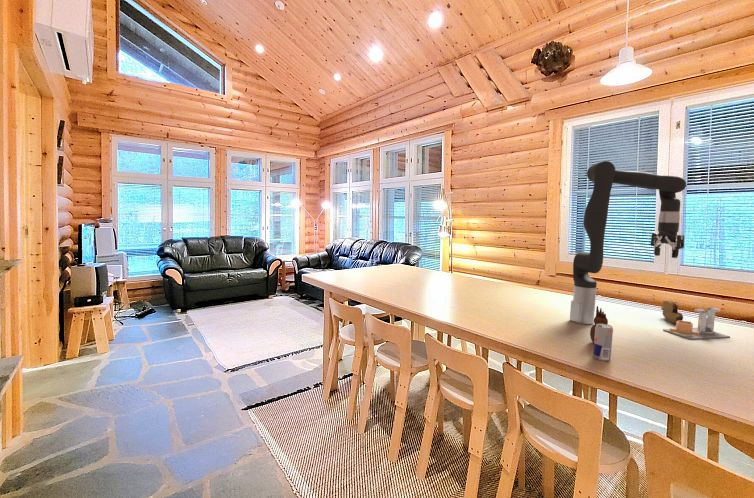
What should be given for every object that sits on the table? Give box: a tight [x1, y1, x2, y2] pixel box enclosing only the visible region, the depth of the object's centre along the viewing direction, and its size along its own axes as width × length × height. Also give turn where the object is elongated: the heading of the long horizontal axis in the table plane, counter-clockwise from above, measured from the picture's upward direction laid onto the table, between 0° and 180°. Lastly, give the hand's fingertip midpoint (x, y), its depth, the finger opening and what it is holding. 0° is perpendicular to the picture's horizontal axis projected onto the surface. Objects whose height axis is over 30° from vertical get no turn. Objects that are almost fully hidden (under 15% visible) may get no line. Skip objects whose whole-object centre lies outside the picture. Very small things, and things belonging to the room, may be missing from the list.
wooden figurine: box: [589, 305, 609, 344], centre depth 145 cm, size 7×6×15 cm
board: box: [662, 327, 731, 341], centre depth 160 cm, size 20×12×1 cm, turn 99°
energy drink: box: [592, 324, 614, 362], centre depth 131 cm, size 5×5×12 cm
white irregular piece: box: [694, 307, 722, 334], centre depth 160 cm, size 11×5×10 cm, turn 99°
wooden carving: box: [660, 300, 684, 325], centre depth 177 cm, size 16×5×10 cm, turn 168°
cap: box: [668, 320, 699, 335], centre depth 158 cm, size 10×5×5 cm, turn 59°
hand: (665, 256), depth 170 cm, fingers open, 8 cm apart
